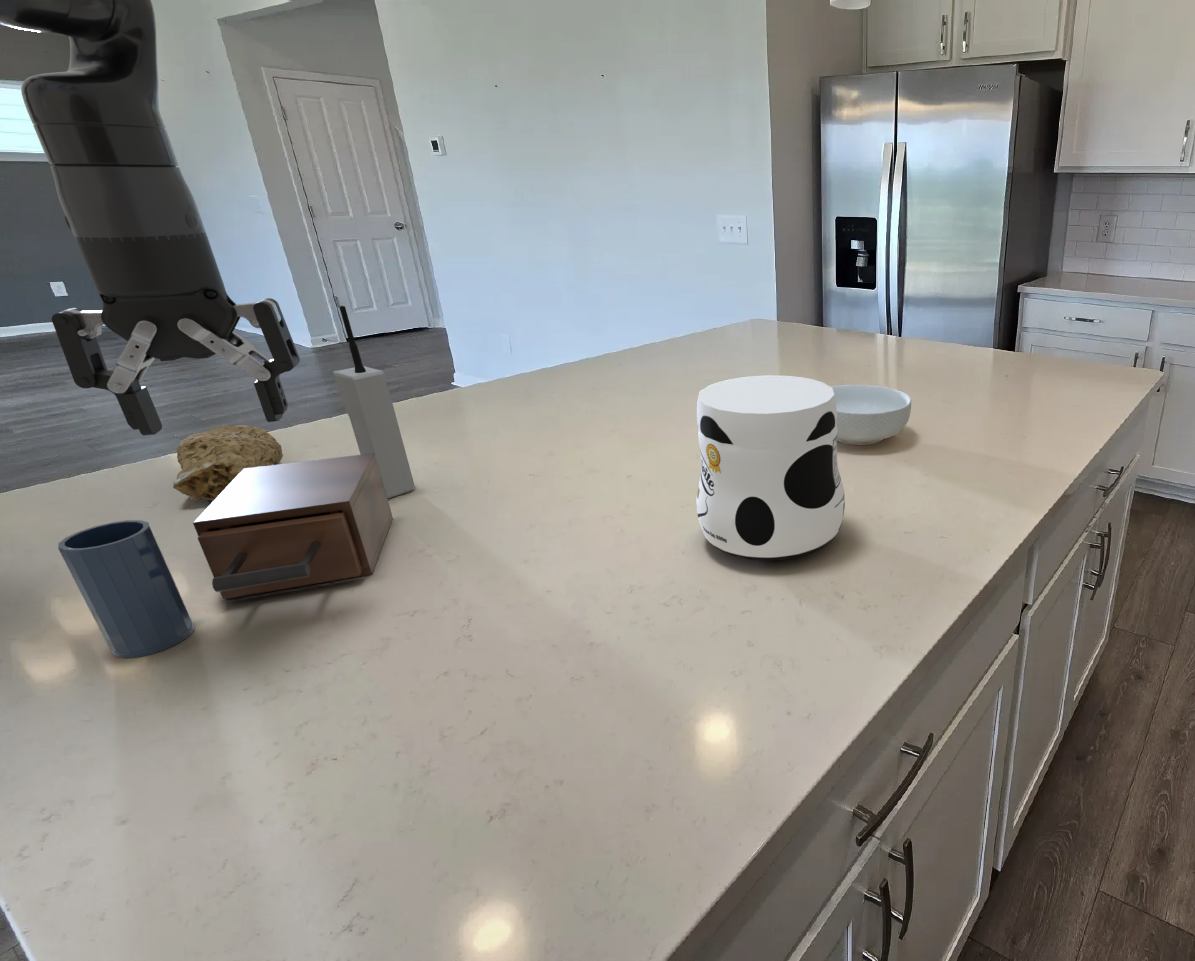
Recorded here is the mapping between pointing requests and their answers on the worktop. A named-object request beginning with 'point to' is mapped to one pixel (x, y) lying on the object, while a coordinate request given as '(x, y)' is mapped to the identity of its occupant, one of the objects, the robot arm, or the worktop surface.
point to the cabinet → (309, 500)
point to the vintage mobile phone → (374, 418)
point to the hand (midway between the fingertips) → (215, 425)
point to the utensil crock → (127, 587)
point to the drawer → (280, 553)
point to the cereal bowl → (869, 413)
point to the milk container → (769, 466)
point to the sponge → (222, 458)
